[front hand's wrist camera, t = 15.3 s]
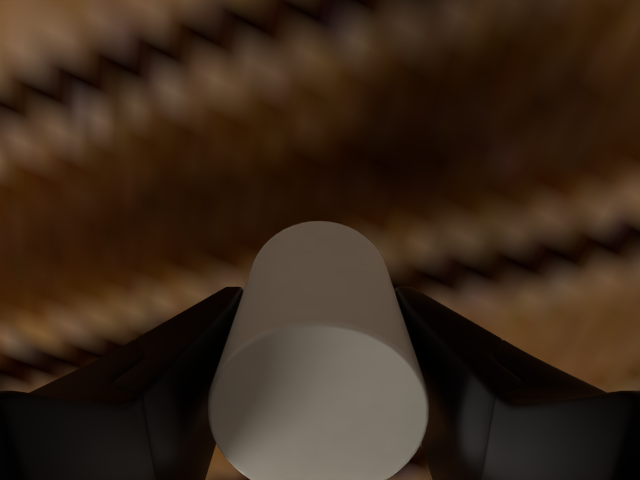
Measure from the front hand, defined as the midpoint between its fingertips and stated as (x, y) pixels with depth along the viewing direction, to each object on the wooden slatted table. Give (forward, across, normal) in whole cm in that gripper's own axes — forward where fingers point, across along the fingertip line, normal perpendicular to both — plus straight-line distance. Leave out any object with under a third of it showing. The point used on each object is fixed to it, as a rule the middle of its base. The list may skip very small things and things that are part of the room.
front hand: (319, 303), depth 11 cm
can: (+1, 0, 0) cm, 1 cm away
